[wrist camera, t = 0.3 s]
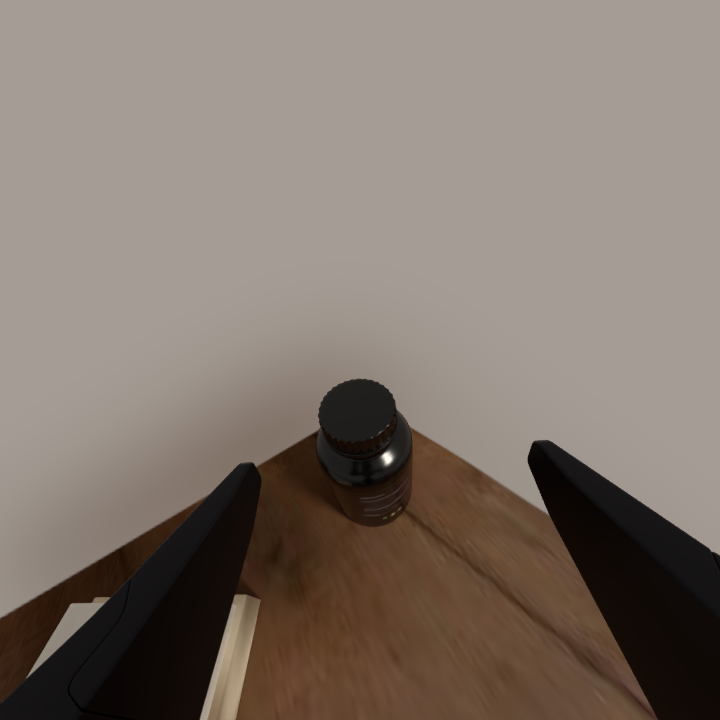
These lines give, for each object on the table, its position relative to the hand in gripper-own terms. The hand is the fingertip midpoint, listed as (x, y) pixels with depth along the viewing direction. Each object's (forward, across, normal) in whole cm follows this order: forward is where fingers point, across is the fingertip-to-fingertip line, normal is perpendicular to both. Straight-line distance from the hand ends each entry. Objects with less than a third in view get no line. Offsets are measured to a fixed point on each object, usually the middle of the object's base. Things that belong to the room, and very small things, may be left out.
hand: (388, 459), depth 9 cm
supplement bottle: (+9, +2, +15) cm, 18 cm away
